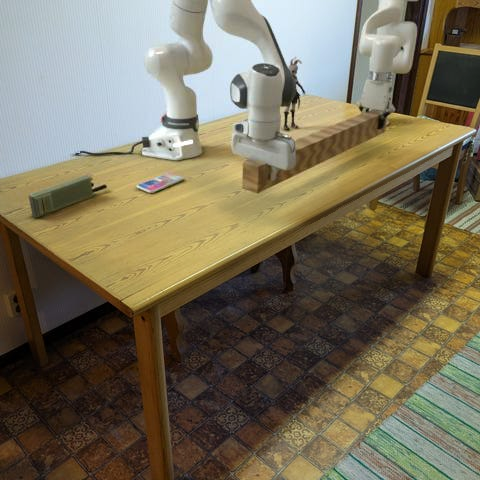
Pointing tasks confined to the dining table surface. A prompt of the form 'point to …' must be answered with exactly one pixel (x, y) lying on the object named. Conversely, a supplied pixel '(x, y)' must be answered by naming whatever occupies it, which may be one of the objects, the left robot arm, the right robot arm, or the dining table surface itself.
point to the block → (315, 150)
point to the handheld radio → (62, 195)
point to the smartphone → (159, 182)
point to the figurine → (293, 70)
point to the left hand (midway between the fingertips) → (262, 176)
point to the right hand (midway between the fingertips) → (372, 126)
